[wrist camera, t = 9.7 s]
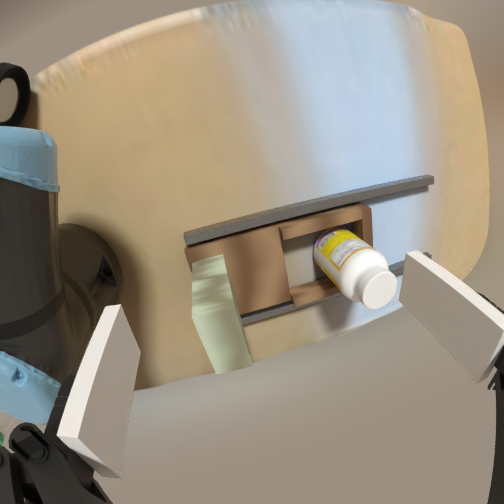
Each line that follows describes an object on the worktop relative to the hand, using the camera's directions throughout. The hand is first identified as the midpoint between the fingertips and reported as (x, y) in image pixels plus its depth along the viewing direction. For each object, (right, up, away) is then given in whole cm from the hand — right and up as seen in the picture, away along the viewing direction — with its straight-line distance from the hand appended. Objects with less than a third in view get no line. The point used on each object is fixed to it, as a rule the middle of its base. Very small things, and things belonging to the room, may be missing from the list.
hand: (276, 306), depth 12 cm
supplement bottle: (+11, +3, +29) cm, 30 cm away
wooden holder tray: (+3, +1, +27) cm, 28 cm away
